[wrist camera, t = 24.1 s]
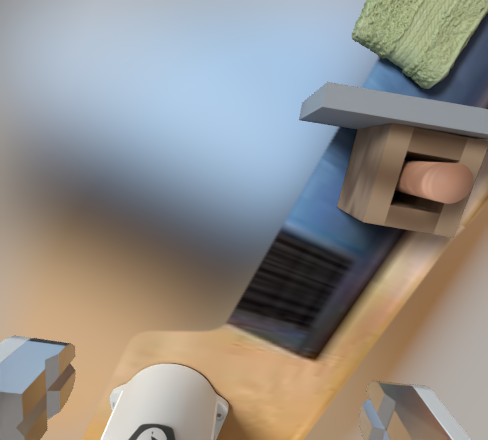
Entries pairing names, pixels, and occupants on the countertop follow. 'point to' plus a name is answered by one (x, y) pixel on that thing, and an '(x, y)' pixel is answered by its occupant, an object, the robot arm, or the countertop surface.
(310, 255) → the countertop surface
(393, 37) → the washcloth
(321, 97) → the wall
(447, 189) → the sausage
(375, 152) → the block
